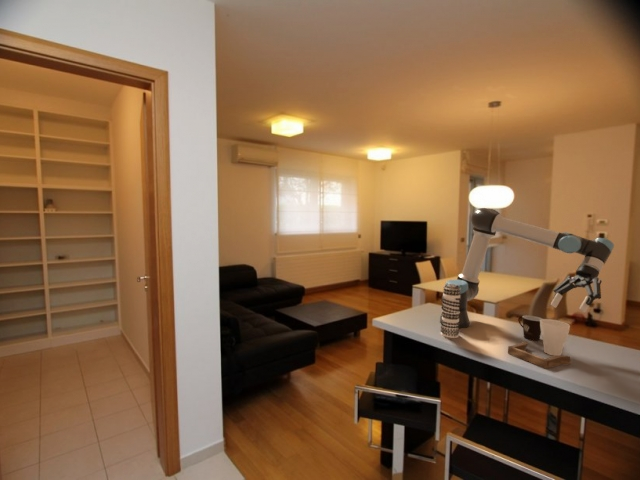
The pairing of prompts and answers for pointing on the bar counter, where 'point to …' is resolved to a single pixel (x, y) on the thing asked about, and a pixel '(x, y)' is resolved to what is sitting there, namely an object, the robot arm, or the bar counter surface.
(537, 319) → the coffee mug
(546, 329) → the cup
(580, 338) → the bar counter surface
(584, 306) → the robot arm
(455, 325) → the decorative candle
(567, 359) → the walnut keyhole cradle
